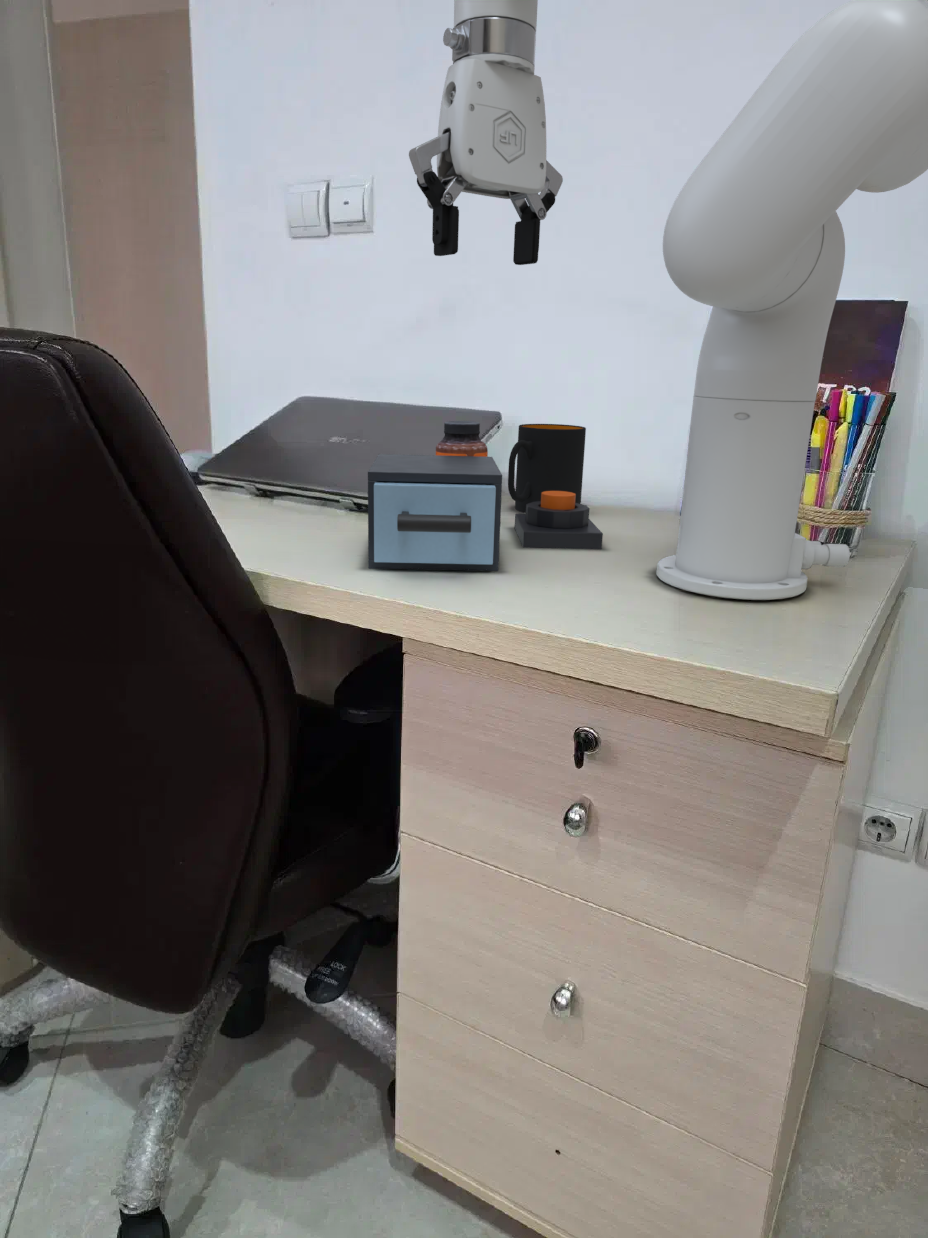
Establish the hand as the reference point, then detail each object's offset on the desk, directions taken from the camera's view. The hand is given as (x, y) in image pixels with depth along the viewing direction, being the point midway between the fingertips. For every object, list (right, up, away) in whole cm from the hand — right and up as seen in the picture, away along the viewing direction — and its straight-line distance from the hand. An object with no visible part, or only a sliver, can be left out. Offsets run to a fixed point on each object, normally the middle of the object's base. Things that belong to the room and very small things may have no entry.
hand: (486, 259), depth 81 cm
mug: (+7, -22, +23) cm, 32 cm away
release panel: (+8, -27, +8) cm, 29 cm away
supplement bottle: (-3, -24, +15) cm, 29 cm away
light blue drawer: (-5, -29, -4) cm, 30 cm away
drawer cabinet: (-5, -29, -1) cm, 29 cm away
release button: (+8, -24, +7) cm, 26 cm away
